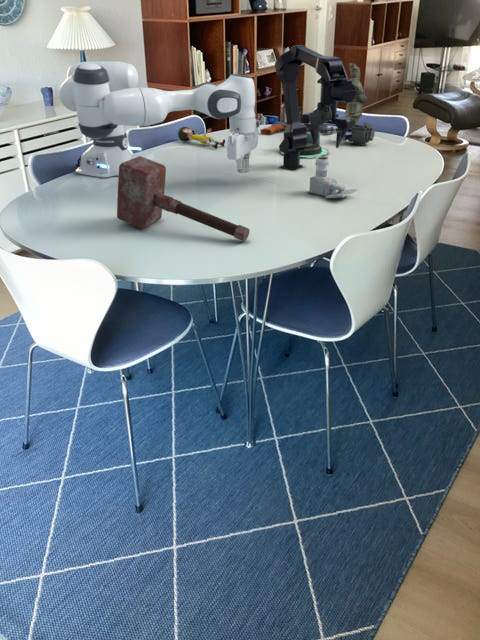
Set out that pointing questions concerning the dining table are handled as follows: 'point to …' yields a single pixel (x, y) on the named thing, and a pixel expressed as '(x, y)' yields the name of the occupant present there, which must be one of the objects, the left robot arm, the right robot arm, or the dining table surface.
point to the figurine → (197, 137)
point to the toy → (360, 134)
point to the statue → (357, 104)
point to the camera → (326, 182)
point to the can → (244, 165)
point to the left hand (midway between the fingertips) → (243, 166)
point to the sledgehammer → (158, 199)
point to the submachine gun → (282, 125)
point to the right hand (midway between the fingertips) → (326, 146)
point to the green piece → (312, 147)
